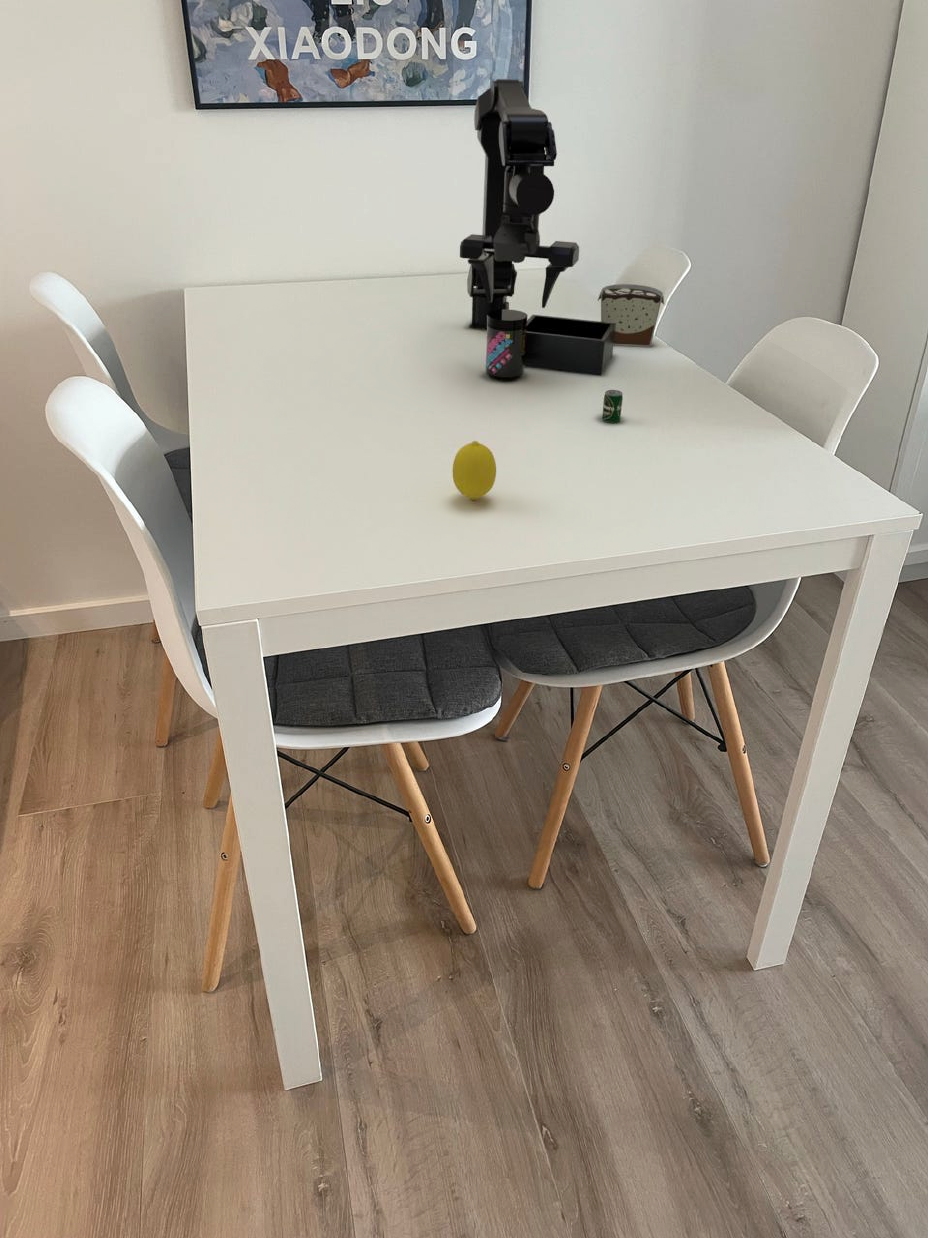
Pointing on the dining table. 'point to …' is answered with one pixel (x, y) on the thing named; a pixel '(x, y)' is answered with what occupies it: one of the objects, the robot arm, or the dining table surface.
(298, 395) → the dining table surface
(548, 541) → the dining table surface
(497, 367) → the supplement container
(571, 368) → the basin
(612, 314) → the food container
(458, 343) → the dining table surface
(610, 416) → the beer can
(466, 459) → the lemon
